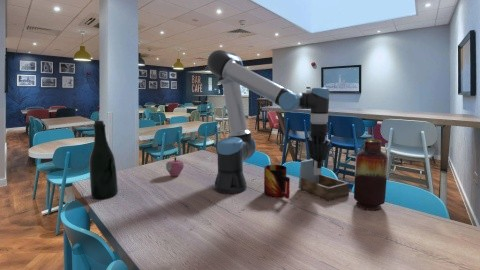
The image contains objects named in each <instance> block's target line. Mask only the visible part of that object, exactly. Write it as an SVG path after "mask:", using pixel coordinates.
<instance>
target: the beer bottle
mask: <svg viewBox="0 0 480 270" xmlns="http://www.w3.org/2000/svg"><path fill="white" fill-rule="evenodd" d="M93 131H94V132H93V133H94V139H93V140H94V141H93V147H92V150H91V152H90V156H89V159H88V160H89V164H88V165H89V166H88V168H89V182H90V193H91V194H90V195H91V197H92V199H96V200H105V199H110V198H113V197H114V196H116V195H117V194H118V193H119V188H118V187H119V186H118V175H117V168H116V167H117V166H116V159H115V156H114V153H113V151H112V150H111V147H110V145H109V143H108V140H107V133H106V124H105V123H104V120H95V121H94V123H93Z"/></svg>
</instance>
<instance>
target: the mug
mask: <svg viewBox="0 0 480 270" xmlns="http://www.w3.org/2000/svg"><path fill="white" fill-rule="evenodd" d="M263 167H264V169H263V171H264V172H263V175H264V176H263V178H264V179H263V180H264V182H263V186H264V187H263V189H264V190H263V193H264V196H266V197H269V198H273V199H274V198H275V199H278V198H279V199H280V198H285V199H287V200H289V199H290V194H291V193H290V189H291V187H290V182H291V178H290V177H288V176H287V167H286V166H285V165H282V164H268V165H265V166H263Z"/></svg>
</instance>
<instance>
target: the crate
mask: <svg viewBox="0 0 480 270" xmlns="http://www.w3.org/2000/svg"><path fill="white" fill-rule="evenodd" d="M300 191H302V192H304V193H306V192H307V193H306V194H309V195H312V196H314V197H316V198H318V199H321V200H323V201H326V202H331V201H335V200H337V199H341V197H342V198H344V197H347V196H349V195H350V183H349V182H347V181H343V180H341V179H337V178H334V177H331V176H328V175H324V174H322V173H321V174H320V175H319V184H317V183H315V182H312V181H309V180H306V179H303V178H301V189H300Z"/></svg>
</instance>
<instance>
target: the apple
mask: <svg viewBox="0 0 480 270" xmlns="http://www.w3.org/2000/svg"><path fill="white" fill-rule="evenodd" d="M184 167H185V165H184V162H183V160H180V159H178V160H177V157H176V156H175V157H174V160H171V161H167V162H166V164H165V168H166V169H165V170H167V173H168V174H169V175H170V176H171V177H179V176H180V174H181V172H182V171H183V169H184ZM178 175H179V176H178Z"/></svg>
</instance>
